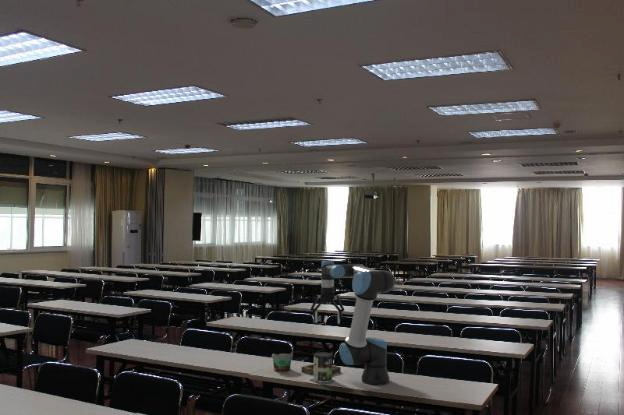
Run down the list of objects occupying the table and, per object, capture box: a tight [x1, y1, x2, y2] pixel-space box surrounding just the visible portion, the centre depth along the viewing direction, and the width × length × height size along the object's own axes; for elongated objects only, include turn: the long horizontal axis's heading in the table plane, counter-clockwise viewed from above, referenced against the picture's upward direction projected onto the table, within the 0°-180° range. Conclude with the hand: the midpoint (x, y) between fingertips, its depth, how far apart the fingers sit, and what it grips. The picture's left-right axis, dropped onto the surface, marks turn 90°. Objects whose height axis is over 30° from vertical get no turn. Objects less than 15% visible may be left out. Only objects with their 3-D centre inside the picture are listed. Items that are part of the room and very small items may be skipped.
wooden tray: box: [301, 363, 342, 376], centre depth 340 cm, size 16×16×3 cm
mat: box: [309, 378, 336, 386], centre depth 322 cm, size 11×9×1 cm
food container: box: [271, 352, 293, 373], centre depth 342 cm, size 12×6×10 cm, turn 105°
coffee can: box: [312, 351, 333, 384], centre depth 323 cm, size 10×10×14 cm
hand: (327, 323), depth 348 cm, fingers open, 13 cm apart
